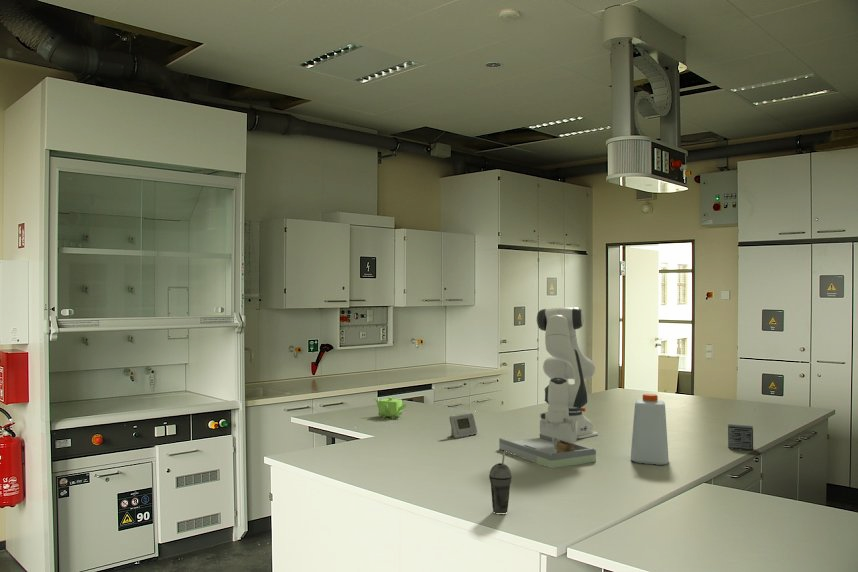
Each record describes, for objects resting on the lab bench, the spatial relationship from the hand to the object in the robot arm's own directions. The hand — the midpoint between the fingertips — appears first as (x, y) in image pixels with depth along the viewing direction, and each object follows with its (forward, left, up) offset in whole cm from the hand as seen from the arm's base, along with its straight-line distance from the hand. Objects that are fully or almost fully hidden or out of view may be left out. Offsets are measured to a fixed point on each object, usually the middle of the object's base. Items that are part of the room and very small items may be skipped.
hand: (557, 449), depth 281 cm
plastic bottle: (-34, +19, -4) cm, 39 cm away
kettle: (+22, -118, -4) cm, 120 cm away
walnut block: (0, +5, -1) cm, 5 cm away
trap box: (0, -8, -4) cm, 9 cm away
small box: (-91, +22, -5) cm, 93 cm away
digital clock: (+11, -58, -5) cm, 59 cm away
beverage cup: (+62, +45, -4) cm, 76 cm away
